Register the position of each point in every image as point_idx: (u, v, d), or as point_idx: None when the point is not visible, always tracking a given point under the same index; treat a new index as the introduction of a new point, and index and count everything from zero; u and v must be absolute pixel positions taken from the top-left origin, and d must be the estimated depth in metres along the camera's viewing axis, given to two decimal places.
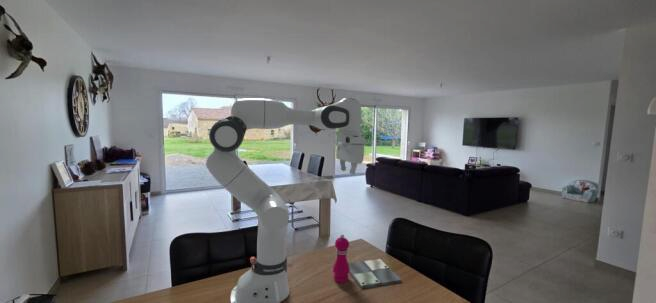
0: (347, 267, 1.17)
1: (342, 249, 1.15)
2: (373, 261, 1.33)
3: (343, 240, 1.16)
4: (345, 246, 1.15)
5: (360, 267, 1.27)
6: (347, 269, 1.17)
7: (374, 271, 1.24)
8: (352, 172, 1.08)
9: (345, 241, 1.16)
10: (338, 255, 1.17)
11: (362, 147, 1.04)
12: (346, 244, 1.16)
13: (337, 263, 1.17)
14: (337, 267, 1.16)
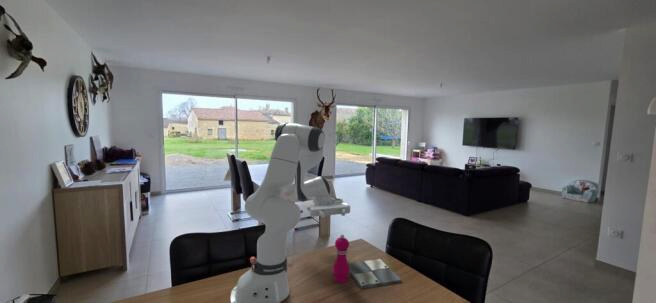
0: (347, 267, 1.17)
1: (342, 249, 1.15)
2: (373, 261, 1.33)
3: (343, 240, 1.16)
4: (345, 246, 1.15)
5: (360, 267, 1.27)
6: (347, 269, 1.17)
7: (374, 271, 1.24)
8: None
9: (345, 241, 1.16)
10: (338, 255, 1.17)
11: None
12: (346, 244, 1.16)
13: (337, 263, 1.17)
14: (337, 267, 1.16)
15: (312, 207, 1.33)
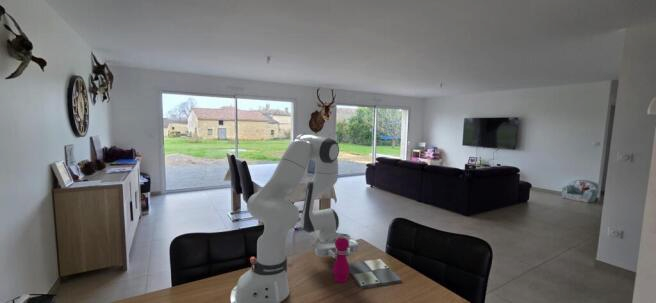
0: (347, 267, 1.17)
1: (342, 249, 1.15)
2: (373, 261, 1.33)
3: (343, 240, 1.16)
4: (345, 246, 1.15)
5: (360, 267, 1.27)
6: (347, 269, 1.17)
7: (374, 271, 1.24)
8: None
9: (345, 241, 1.16)
10: (338, 255, 1.17)
11: None
12: (346, 244, 1.16)
13: (337, 263, 1.17)
14: (337, 267, 1.16)
15: (318, 245, 1.22)
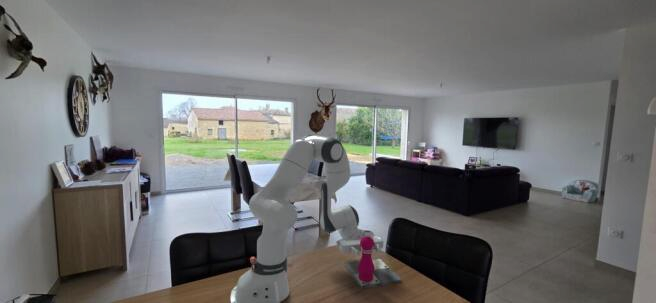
0: (372, 266, 1.16)
1: (368, 248, 1.14)
2: (373, 261, 1.33)
3: (368, 239, 1.15)
4: (370, 245, 1.14)
5: None
6: (372, 268, 1.16)
7: (374, 271, 1.24)
8: None
9: (370, 240, 1.15)
10: (363, 254, 1.16)
11: None
12: (372, 243, 1.14)
13: (362, 262, 1.16)
14: (363, 266, 1.15)
15: (343, 242, 1.21)
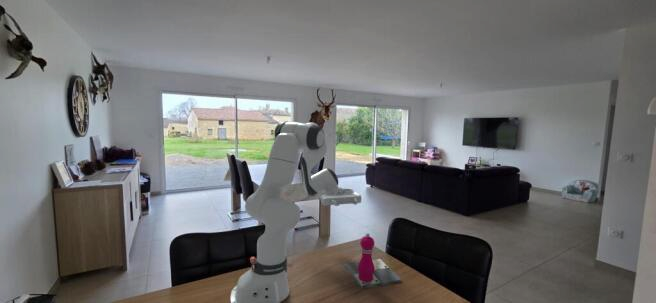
0: (372, 266, 1.16)
1: (368, 248, 1.14)
2: (373, 261, 1.33)
3: (369, 239, 1.15)
4: (371, 245, 1.14)
5: None
6: (373, 268, 1.16)
7: (374, 271, 1.24)
8: None
9: (371, 240, 1.15)
10: (363, 254, 1.16)
11: None
12: (372, 243, 1.15)
13: (362, 262, 1.16)
14: (363, 266, 1.15)
15: (324, 196, 1.33)
